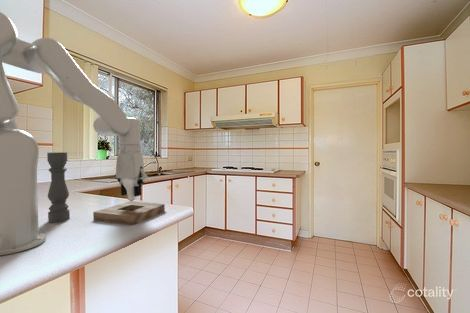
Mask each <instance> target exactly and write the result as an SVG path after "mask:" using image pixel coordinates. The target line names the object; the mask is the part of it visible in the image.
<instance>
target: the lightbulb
mask: <svg viewBox="0 0 470 313" xmlns="http://www.w3.org/2000/svg"><path fill="white" fill-rule="evenodd" d="M137 178H138V177H137ZM137 180H138V179H137ZM138 181H139V180H138ZM122 183H123V185H124V187H125V188H126V191H127V200H128V201H135V200H136V196H134V186H135V182H134V179H126V178H124V179H123V181H122Z"/></svg>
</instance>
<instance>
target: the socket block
mask: <svg viewBox="0 0 470 313" xmlns="http://www.w3.org/2000/svg"><path fill="white" fill-rule="evenodd" d="M163 212H165V204H164V203H154V202H145V201H144V202H143V201H135V200H133V201H130V200H128V201H126V202H123V203H119V204H116V205H113V206H109V207H105V208H102V209H98V210H96V211H93V214H92V215H93V221H99V222H104V223H105V222H106V223H107V222H108V223H112V224H113V223H114V224H121V225H129V226H134V225H136V224H139V223H140V222H143V221H146V220H148V219H149V218H152V217H154V216H157V215H159V214H161V213H163Z"/></svg>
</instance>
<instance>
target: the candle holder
mask: <svg viewBox="0 0 470 313" xmlns="http://www.w3.org/2000/svg"><path fill="white" fill-rule="evenodd" d="M46 156H47V157H46V159H47V162H48V165H49V166H50V168H49V169H48V172H49V173H50V177H51V179H50V180H51V181H50V186H49V189H48V193H47V199H48V200H49V201H50V203H51V205H50V206H49V208H48V210H49V211H48V212H47V215H48V216H47V219H48V220H47V222H48V223H50V224H56V223H62V222H66V221H69V220H70V218H71V217H70V209H69V205H68V204H67V203H66V202H67V199H68V198H69V196H70V192H69V190H68V185H67V183H66V180H65V174H66V171H67V167H65V166H66V164H67V162H68V152H47V155H46Z"/></svg>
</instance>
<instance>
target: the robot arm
mask: <svg viewBox="0 0 470 313" xmlns="http://www.w3.org/2000/svg"><path fill="white" fill-rule="evenodd" d="M13 22H14V21H12V20H11V18H10V17H8V16H7V15H6V14H5V13H3V12H1V11H0V256H5V255H11V254H15V253H19V252H20V253H21V252H23V251H26V250H30V249H33V248H35V247H37V246H39V245H41V244H43V243H44V242H45V241H46V240H47V235H46V233H45V234H44V233H42V232H40V231H39V206H38V205H39V204H38V163H39V155H40V154H39V152H40V151H39V145H38V142H37V140H36V138H35V137H34V136H33V135H32V134H30V133H29V132H27V131H25V130H23V129H19V127H18V125H17V122H16V118H17V117H18V115H19V112H20V106H19V103H18V101H17V99H16V96H14V93H13V90H12V88H11V86H10V82H9V80H8V78H7V75H6V72H5V69H4V66H3V64H5V65H6V64H7V65H9V66H13V67H15V68H19V69H22V70H25V71H30V72H32V73H36V74H41V75H42V74H43V75H44V74H45V75H48V76H49V78H50V79H51V80H52V81H53V82H54V83H55V84H56V86H58V87H59V89H60V90H61V91H62V92H63V93H64V94H65V96H67V97H68V98H69V99H71V100H72V101H76V102H78V103H80V104H83V105H84V106H87V107H88V108H89V109H91V110H92V111H94V112H95V113H96V114H97V115H98V116H99V117H97V118H96V119H95V120H94V121H93V124H92V125H93V126H92V128H93V130H94V131H95V133H97V134H98V135H101V136H104V137H113V136H115V137H116V136H118V139H119V141H118V142H119V146H118V150H119V152H118V153H117V158H116V166H115V175H114V178H116V179H117V181H118V183H119V186H120V194H121V196H126V195H127V191H126V188H125V187H124V185H123V183H122V181H123V179H124V178H126V179H134V182H135V186H134V196H135V197H138V196H142V186H143V185H144V183H145V181H146V180H147V179H148V178H149V176H148V175H147V173H146V172H145V166H144V165H145V162H144V157H143V153H142V152H141V151H142V149H141V147H142V146H141V144H142V143H141V121H140V119H138V118H135V117H128V116H127V115H126V113H125V112H124V110H123V109H122V108H121V106H120V105H119V104H118V102H116V101H115V100H114V99H113V97H111V96H110V95H108V94H107V93H106V92H105V91H103V90H102V89H100V88H99V87H98V86H96V85H95V84H94V83H93V82H92V81H91V80H90V79H89V78H88V76H87V75H86V74H85V73H84V71H83V70H82V68H81V67H80V66H79V65H78V63H77V62H76V61H75V60H74V59H73V56H71V55H70V53H69V52H68V51H67V50H66V48H65V47H64V46H63V45H62V44H61V43H60V42H59V41H57V40H55V39H54V38H50V37H41V38H38V39H36V40H34V41H32V42H31V43H30V42H28V41H25V40H22V39H19V38H18V34H19V33H18V30H17V27H16V26H15V23H13ZM137 177H138V178H137ZM137 179H138V180H139V181H138V180H137ZM127 196H128V195H127Z"/></svg>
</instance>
